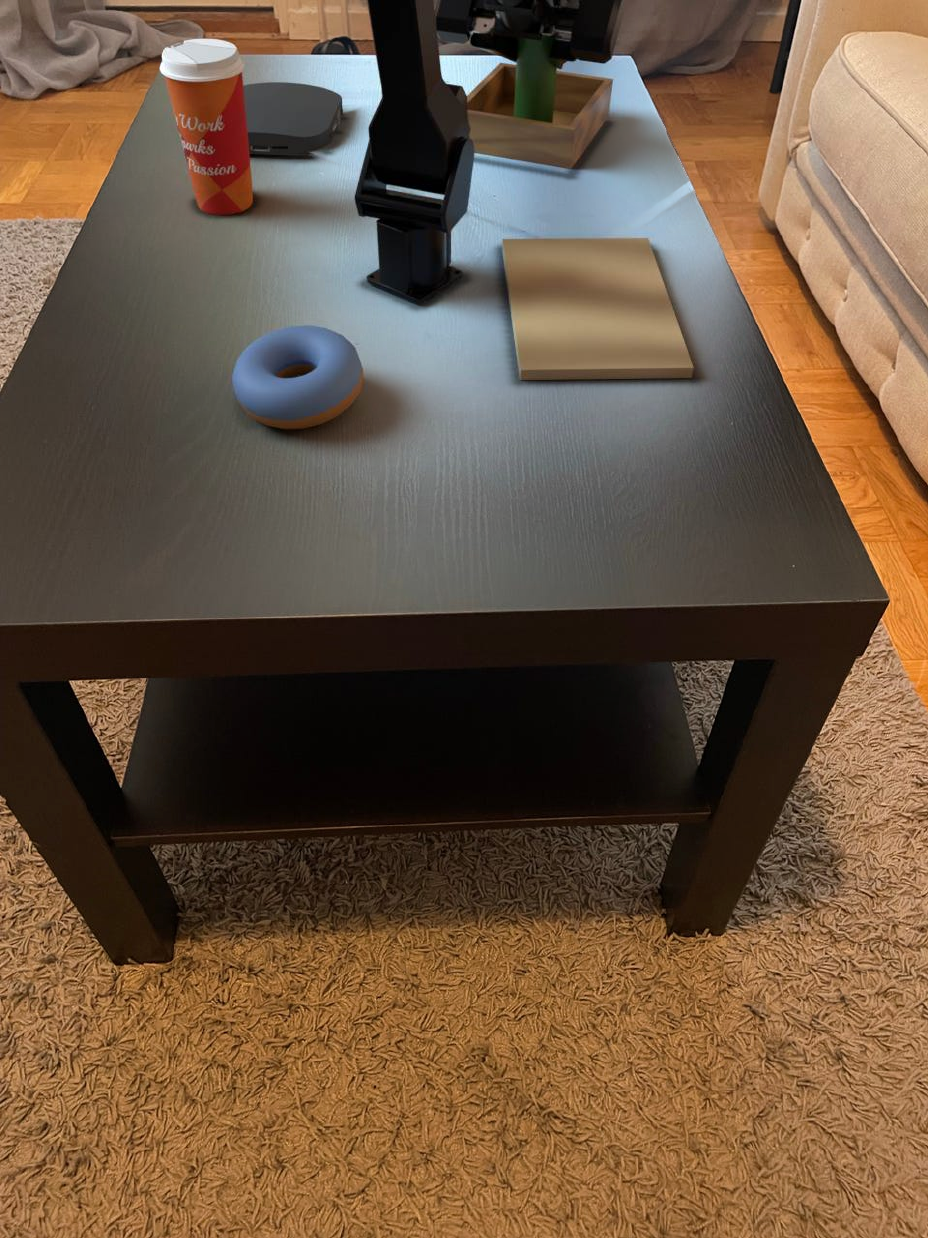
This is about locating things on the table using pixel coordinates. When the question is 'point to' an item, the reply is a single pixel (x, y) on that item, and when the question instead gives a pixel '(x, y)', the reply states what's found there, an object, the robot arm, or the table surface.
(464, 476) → the table surface
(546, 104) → the cucumber
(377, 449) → the table surface
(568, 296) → the cutting board
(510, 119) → the wooden box
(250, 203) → the paper cup
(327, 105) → the media streaming box
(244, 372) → the doughnut
